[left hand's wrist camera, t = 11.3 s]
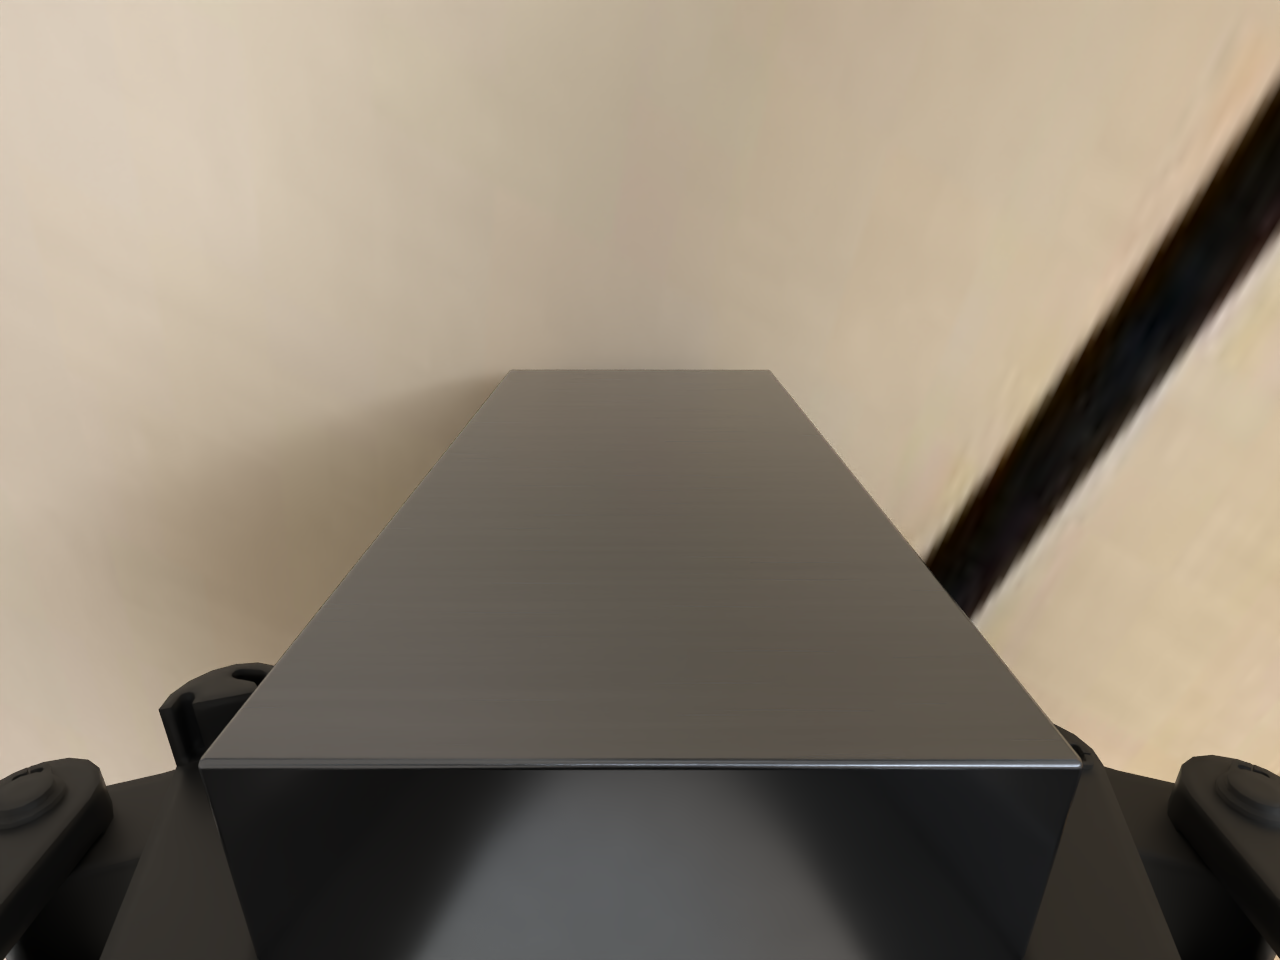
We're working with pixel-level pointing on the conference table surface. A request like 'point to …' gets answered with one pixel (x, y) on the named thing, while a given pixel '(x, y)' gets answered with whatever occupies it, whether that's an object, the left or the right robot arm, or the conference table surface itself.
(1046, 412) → the conference table surface
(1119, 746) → the conference table surface
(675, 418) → the box
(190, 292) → the conference table surface
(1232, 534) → the conference table surface
